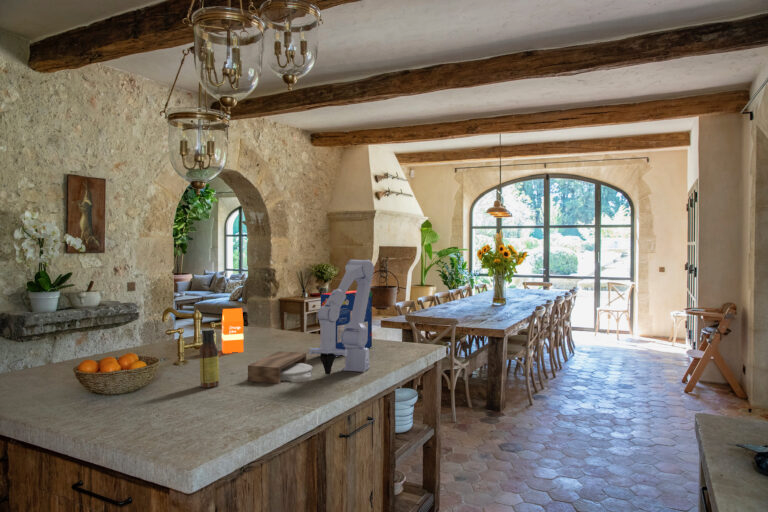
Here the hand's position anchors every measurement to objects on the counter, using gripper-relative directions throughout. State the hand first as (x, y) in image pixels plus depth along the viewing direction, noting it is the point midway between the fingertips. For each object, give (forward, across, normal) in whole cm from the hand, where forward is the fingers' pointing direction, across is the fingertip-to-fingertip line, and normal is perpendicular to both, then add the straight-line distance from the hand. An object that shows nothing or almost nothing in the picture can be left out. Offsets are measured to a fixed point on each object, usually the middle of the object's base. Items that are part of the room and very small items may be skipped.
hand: (327, 373), depth 188 cm
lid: (+2, -14, -2) cm, 14 cm away
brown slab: (+1, -20, 0) cm, 20 cm away
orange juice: (+1, -59, +33) cm, 68 cm away
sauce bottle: (+1, -36, -22) cm, 42 cm away
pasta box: (+2, -7, +46) cm, 47 cm away
